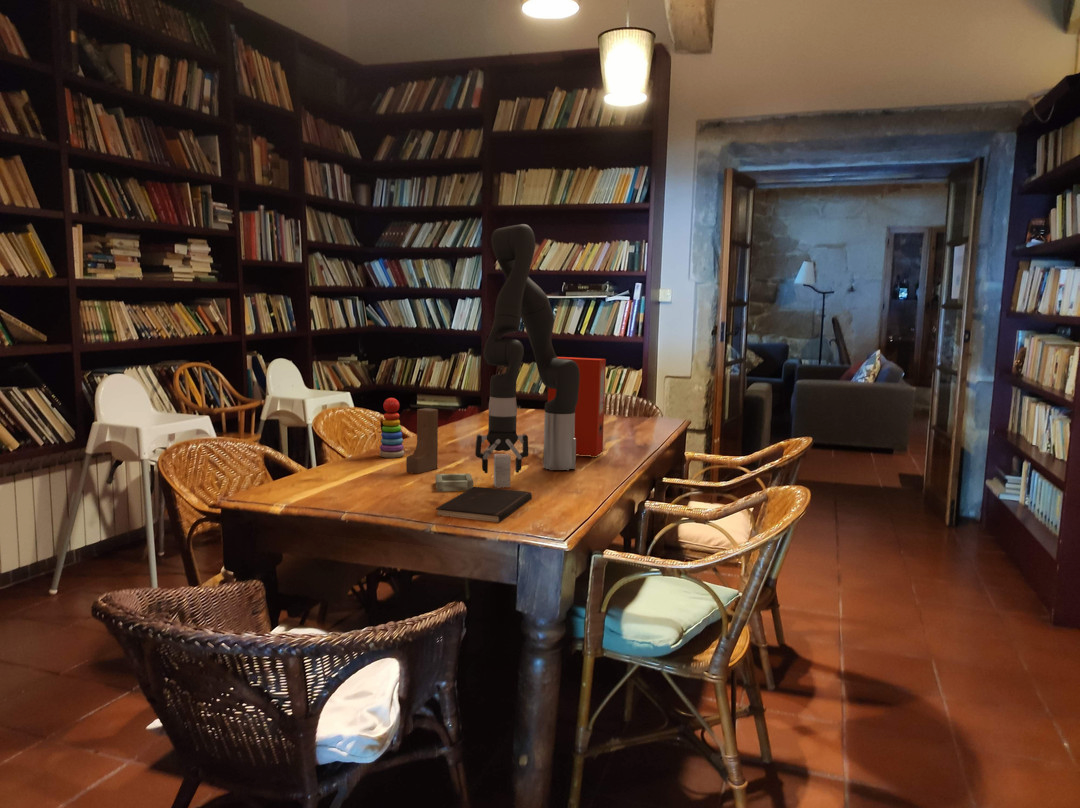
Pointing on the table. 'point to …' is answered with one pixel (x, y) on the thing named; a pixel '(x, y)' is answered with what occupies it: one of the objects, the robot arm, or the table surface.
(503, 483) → the gray rectangular block
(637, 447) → the table surface
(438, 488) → the grey shallow square tray
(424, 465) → the wooden block
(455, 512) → the hardcover book
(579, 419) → the file binder
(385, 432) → the stacking toy
